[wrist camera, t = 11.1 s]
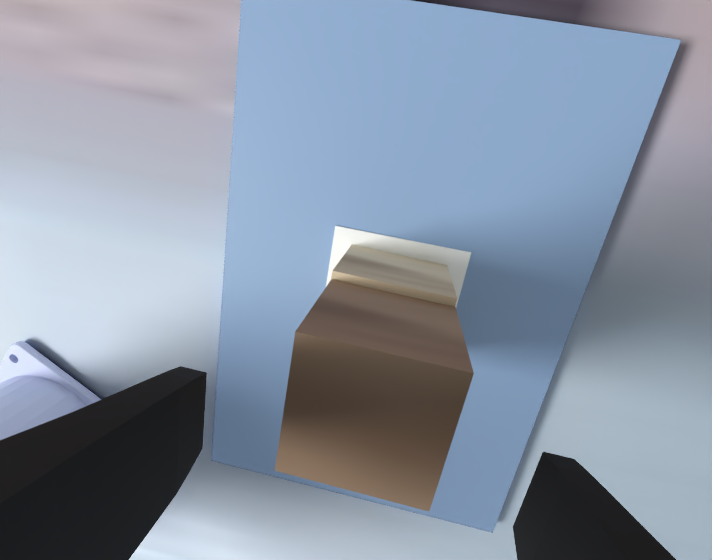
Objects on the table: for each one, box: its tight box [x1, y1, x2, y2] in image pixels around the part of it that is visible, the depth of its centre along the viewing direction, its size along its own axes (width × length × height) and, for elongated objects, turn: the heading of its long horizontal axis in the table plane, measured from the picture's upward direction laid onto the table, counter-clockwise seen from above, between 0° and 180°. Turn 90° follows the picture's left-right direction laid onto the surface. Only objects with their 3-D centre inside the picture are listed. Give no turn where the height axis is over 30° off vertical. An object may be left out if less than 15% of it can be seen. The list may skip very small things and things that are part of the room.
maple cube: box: [331, 245, 457, 307], centre depth 15 cm, size 4×4×4 cm
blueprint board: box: [212, 0, 681, 533], centre depth 17 cm, size 22×15×1 cm
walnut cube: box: [275, 279, 474, 511], centre depth 11 cm, size 4×4×4 cm
